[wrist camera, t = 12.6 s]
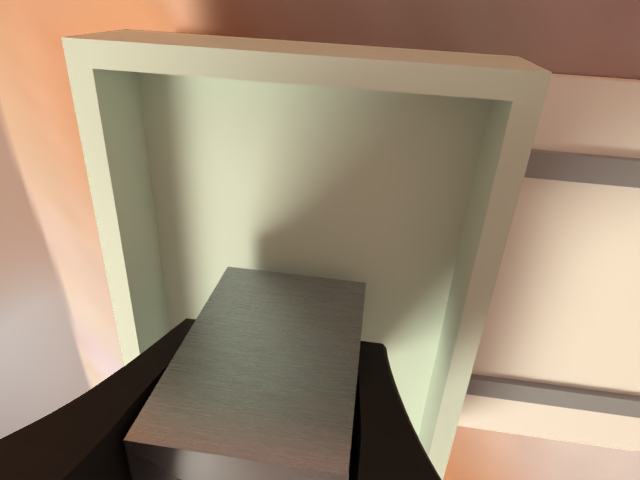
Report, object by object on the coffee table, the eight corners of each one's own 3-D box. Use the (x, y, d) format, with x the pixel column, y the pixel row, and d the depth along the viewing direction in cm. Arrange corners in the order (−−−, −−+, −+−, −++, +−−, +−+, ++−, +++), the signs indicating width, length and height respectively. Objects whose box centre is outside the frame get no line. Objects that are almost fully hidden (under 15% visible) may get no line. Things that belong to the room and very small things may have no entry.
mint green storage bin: (507, 51, 13) (552, 71, 9) (422, 438, 20) (428, 534, 16) (146, 26, 14) (61, 37, 10) (188, 403, 21) (146, 487, 17)
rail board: (827, 93, 13) (856, 99, 12) (640, 440, 19) (651, 459, 19) (167, 45, 15) (154, 48, 14) (198, 377, 21) (190, 392, 21)
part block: (365, 282, 13) (347, 475, 8) (353, 386, 15) (333, 598, 10) (227, 266, 14) (123, 440, 8) (232, 370, 15) (150, 565, 10)
